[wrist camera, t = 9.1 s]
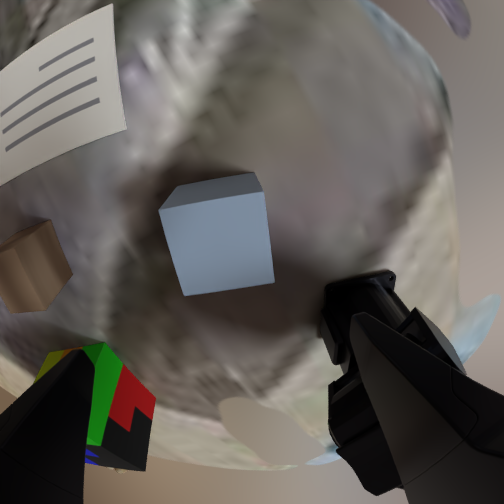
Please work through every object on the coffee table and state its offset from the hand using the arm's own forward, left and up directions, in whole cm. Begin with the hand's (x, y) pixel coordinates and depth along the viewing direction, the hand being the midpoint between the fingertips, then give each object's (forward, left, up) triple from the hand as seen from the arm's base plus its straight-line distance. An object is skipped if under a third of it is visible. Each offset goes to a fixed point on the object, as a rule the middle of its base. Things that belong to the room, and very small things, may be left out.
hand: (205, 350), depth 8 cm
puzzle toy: (+18, +16, -12) cm, 26 cm away
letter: (+12, -12, -11) cm, 20 cm away
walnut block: (+16, 0, -12) cm, 19 cm away
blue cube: (0, 0, -12) cm, 12 cm away
